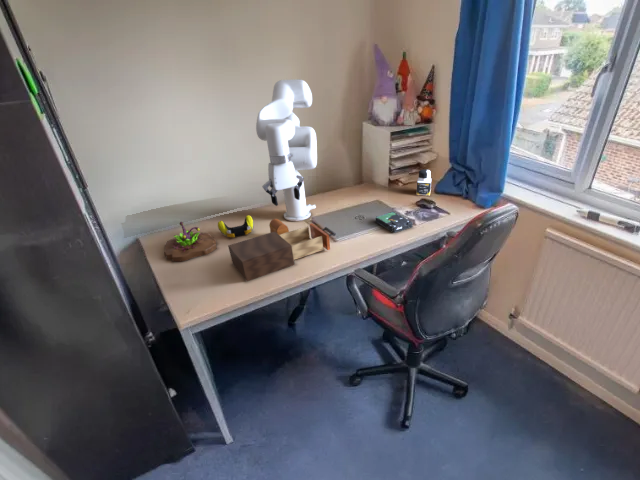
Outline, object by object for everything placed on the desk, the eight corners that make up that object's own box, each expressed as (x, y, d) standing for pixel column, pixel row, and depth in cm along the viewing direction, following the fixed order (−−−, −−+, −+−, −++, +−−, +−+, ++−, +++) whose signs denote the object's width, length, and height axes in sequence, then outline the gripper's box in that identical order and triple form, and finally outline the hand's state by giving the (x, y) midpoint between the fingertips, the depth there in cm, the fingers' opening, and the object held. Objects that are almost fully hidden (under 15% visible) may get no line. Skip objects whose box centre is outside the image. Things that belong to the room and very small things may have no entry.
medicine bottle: (416, 195, 200) (417, 172, 193) (417, 190, 206) (418, 168, 199) (429, 195, 199) (431, 172, 192) (430, 190, 205) (432, 168, 198)
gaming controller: (219, 231, 169) (222, 241, 162) (216, 220, 166) (219, 229, 159) (253, 224, 174) (257, 233, 167) (250, 213, 171) (255, 221, 164)
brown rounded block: (282, 233, 167) (279, 217, 163) (290, 239, 161) (287, 223, 157) (271, 236, 164) (268, 220, 160) (279, 243, 159) (276, 226, 155)
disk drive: (412, 228, 169) (392, 216, 179) (413, 222, 167) (393, 210, 177) (394, 234, 164) (374, 221, 174) (394, 228, 162) (374, 216, 172)
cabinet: (278, 249, 154) (274, 231, 149) (294, 264, 144) (291, 245, 139) (232, 264, 145) (227, 245, 141) (246, 281, 135) (242, 261, 131)
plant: (209, 233, 168) (202, 209, 162) (221, 251, 154) (214, 225, 148) (160, 245, 159) (151, 221, 153) (168, 265, 146) (159, 239, 139)
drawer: (323, 233, 163) (322, 220, 159) (340, 245, 154) (339, 231, 150) (275, 249, 153) (272, 235, 149) (290, 263, 143) (287, 248, 140)
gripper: (295, 152, 151) (301, 194, 160) (254, 161, 142) (262, 204, 152) (305, 156, 146) (309, 199, 155) (262, 165, 137) (270, 210, 147)
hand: (286, 201), depth 154 cm, fingers open, 9 cm apart
